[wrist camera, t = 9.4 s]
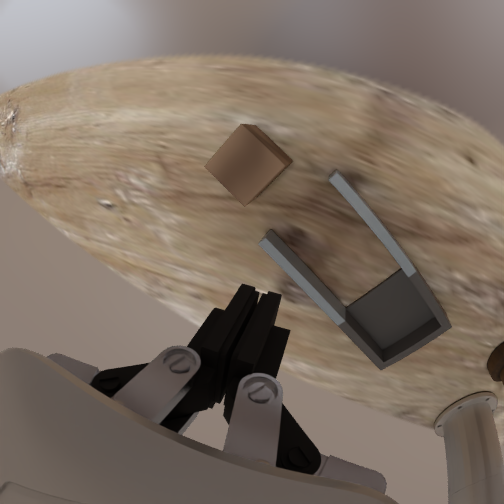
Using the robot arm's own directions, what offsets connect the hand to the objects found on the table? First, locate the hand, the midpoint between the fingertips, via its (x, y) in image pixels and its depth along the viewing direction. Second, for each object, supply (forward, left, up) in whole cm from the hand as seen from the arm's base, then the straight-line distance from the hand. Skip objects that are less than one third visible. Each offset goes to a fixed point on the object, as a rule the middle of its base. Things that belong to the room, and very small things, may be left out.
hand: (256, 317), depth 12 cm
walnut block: (+7, 0, -18) cm, 19 cm away
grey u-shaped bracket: (-9, 0, -18) cm, 20 cm away
